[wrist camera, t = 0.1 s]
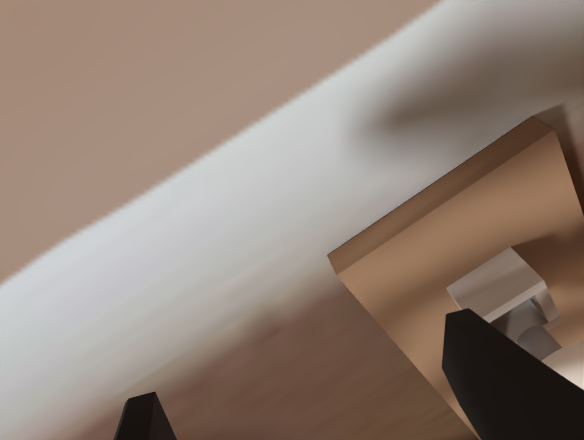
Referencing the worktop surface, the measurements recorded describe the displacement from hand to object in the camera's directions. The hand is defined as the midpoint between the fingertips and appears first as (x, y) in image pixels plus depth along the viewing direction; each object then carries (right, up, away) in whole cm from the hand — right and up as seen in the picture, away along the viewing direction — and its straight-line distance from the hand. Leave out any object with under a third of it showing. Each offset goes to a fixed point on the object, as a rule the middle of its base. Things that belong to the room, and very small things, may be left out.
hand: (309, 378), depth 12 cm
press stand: (+13, -3, +18) cm, 22 cm away
